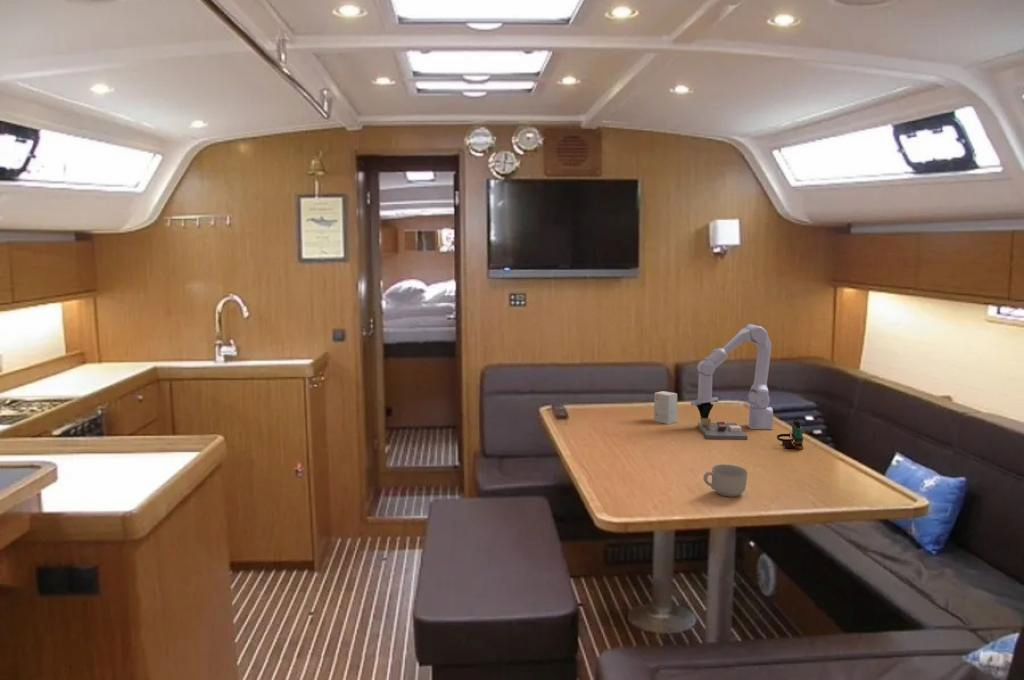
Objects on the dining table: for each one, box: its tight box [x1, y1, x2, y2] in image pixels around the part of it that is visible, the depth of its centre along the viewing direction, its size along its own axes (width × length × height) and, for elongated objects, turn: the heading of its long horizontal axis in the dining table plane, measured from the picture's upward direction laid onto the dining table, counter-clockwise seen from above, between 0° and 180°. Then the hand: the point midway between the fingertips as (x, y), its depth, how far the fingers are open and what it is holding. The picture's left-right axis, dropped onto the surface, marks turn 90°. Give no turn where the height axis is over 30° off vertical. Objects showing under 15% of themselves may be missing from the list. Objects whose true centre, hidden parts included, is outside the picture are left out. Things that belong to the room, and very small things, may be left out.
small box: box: [653, 390, 678, 425], centre depth 329 cm, size 8×6×13 cm
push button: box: [729, 424, 743, 432], centre depth 308 cm, size 4×4×2 cm
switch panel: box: [697, 422, 748, 441], centre depth 310 cm, size 16×22×2 cm
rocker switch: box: [716, 421, 726, 429], centre depth 308 cm, size 3×5×1 cm, turn 175°
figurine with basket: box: [776, 418, 805, 450], centre depth 287 cm, size 9×11×10 cm
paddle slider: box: [699, 417, 712, 426], centre depth 315 cm, size 4×2×3 cm, turn 85°
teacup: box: [703, 463, 749, 498], centre depth 233 cm, size 14×11×8 cm
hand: (704, 420), depth 317 cm, fingers closed
